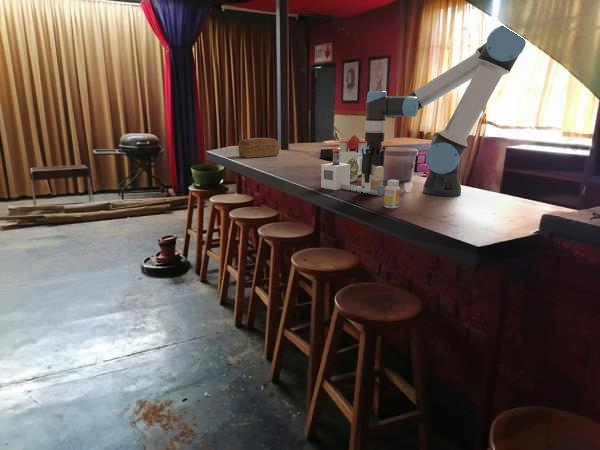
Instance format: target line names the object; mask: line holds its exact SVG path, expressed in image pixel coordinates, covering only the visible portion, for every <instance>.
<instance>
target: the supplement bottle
mask: <svg viewBox="0 0 600 450" xmlns="http://www.w3.org/2000/svg"><path fill="white" fill-rule="evenodd" d="M386 184H387V185H386V186H385V192H384V199H383V200H384V201H383V206H384V207H385V208H387V209H396V208H399V206H400V199H401V198H400V196H401V187H400V186H399V184H400V180H399V179H388V180H387V183H386Z"/></svg>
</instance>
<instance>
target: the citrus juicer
mask: <svg viewBox="0 0 600 450" xmlns="http://www.w3.org/2000/svg"><path fill="white" fill-rule="evenodd" d="M338 142H339V146H338V148H341V151H340V152H357V153H360V155H359V157H362V148H364V149H365V148H366V146H367V142H366V141H365V139H364V140H362V139H360V138H359V137H358V136H357V135H356V134H353V135H352V137H350V138H349V139H344V140H343V139H342V140H338ZM359 162H360V170H359V172H360V171H361V170H362V160H360V161H359ZM358 177H362V174H361V175H358Z"/></svg>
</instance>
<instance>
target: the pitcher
mask: <svg viewBox="0 0 600 450" xmlns="http://www.w3.org/2000/svg"><path fill="white" fill-rule="evenodd" d="M359 155H360V153H357V152H340V157H339V163H344V164H350V183H354V182H355V181H356V180H357V178H358V177H359V176H358V175H361V174H362V173H361V171H360V172H359V170H360V162H359V161H360V160H362V157H359ZM361 176H362V175H361Z"/></svg>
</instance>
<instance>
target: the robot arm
mask: <svg viewBox="0 0 600 450" xmlns="http://www.w3.org/2000/svg"><path fill="white" fill-rule="evenodd" d="M503 25H504V24H501V25H499V26H497V27H495V28H494V29H493V30H492V31H490V33H489V35H488V37H487V39H486V42H485V43H484V44H483V45H481V46H479V47H477V48H476V49H475V52H474V53H473V54H472V55H470V56H469V57H467V58H466V59H464V60H462V61H461V62H459V63H457V64H456V65H454V66H453V67H450V68H448V70H446V71H444V72H443V73H441V74H439V75H438V76H436V77H435V78H433V79H431V80H430V81H428V82H427V83H425V84H423V85H422V86H419V87H418V88H417V89H416V90H413V91H412V92H410V93H409V94H407V95H405V96H404V95H402V96H399V95H398V96H395V95H394V96H393V95H392V96H391V95H388V93H387V91H386V90H370V91H367V95H366V96H367V97H366V104H365V105H366V107H365V109H366V110H365V133H364V140H365V141H366V142H367V146H366V148H365V149H364V148H362V170H361V173H362V174H365V187H364V190H367V191H371V180H372V175H370V174H371V169H372V165H376V166H385V153H386V152H385V151H386V146H383V145H382V143H383V142H384V141H385V132H384V131H385V130H386V129H385V128H386V117H395V118H396V117H402V118H413V117H416V116H417V115H418V111H420V110H422V109H423V108H424V107H426V106H428V105H430V104H431V103H433V102H435V101H437V100H438V99H440V98H441V97H443V96H445V95H447V94H448V93H451V92H452V91H453V90H456V89H457V88H459V87H460V86H462V85H464V84H465V83H467V82H469V81H470V82H469V84H468V85H467V87H466V89H465V91H464V93H463V94H462V97H461V99H460V101H459V102H458V104H457V106H456V108H455V110H454V111H453V114H452V115H451V116H450V118H449V120H448V122H447V124H446V126H445V128H444V129H442V130H440V131H438V133H437V134H436V135H435V136H433V137H432V139H431V142H430V147H429V148H428V149H427V151H426V153H425V163H426V166H427V167H428V175H427V177H426V179H425V182H424V184H423V185H422V192H423V193H425V194H428V195H431V196H438V197H439V196H440V197H455V196H460V195H461V194H462V186H461V182H460V177H459V172H460V171H459V170H460V163H461V158H462V156H463V154H464V152H465V151H466V149H467V147H468V145H469V144H468V142H467V139H468V137H469V135H470V133H471V132H472V130H473V129H474V127H475V125H476V123H477V121H478V120H479V118H480V116H481V114H482V112H483V110H484V109H485V106H486V105H487V104H488V102H489V100H490V98H491V96H492V94H493V93H494V91H495V89H496V87H497V86H498V84H499V82H500V80H501V79H502V77H503V76H504V75H507V74H510V72H511V70H512V68H513V66H514V65H515V64H516V62H517V60H518V58H519V56H520V55H521V54H522V53H523V51H524V49H525V47H526V43H527V40H526V41H525V40H524V39H523V38H521V37H520V36H518V35H517V34H515V33H514V32H512V31H510V30H509V29H507V28H506V27H504V26H503Z"/></svg>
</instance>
